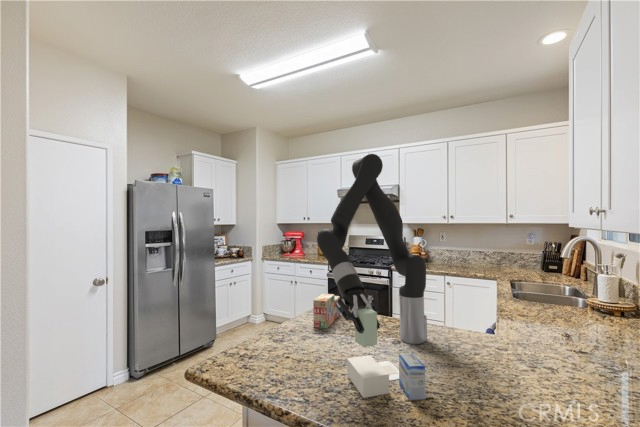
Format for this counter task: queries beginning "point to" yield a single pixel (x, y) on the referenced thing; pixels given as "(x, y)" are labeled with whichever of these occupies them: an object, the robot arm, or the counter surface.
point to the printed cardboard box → (325, 310)
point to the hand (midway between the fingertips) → (369, 330)
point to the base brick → (368, 376)
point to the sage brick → (367, 328)
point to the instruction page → (390, 370)
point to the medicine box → (412, 376)
